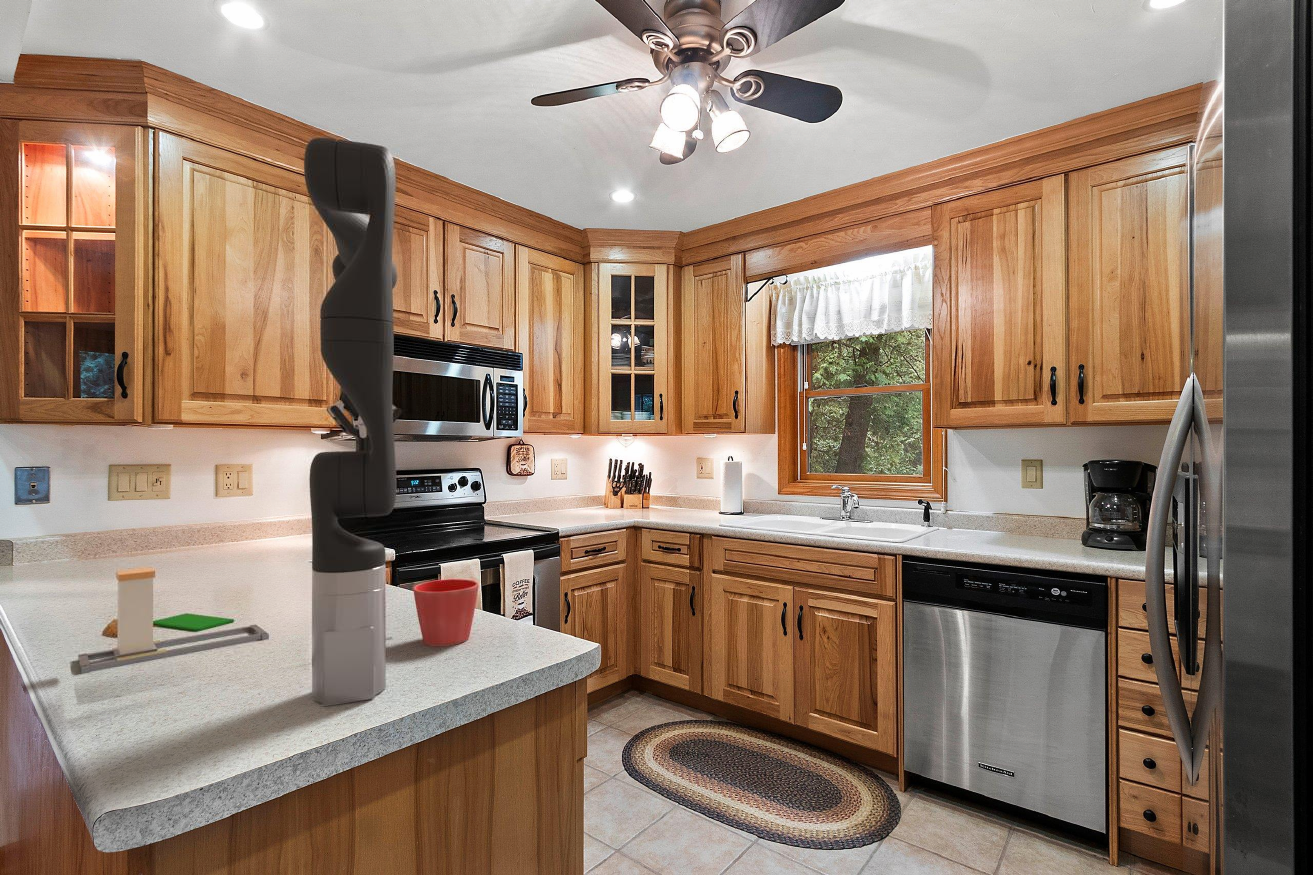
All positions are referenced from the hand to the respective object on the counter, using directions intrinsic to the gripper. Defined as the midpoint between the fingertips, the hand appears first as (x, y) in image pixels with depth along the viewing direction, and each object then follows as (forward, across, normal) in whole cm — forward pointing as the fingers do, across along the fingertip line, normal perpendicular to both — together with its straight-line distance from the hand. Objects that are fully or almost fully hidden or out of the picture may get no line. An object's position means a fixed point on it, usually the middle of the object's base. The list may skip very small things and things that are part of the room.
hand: (365, 459), depth 116 cm
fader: (+31, -31, +11) cm, 45 cm away
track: (+32, -26, +11) cm, 43 cm away
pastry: (+32, -30, +32) cm, 55 cm away
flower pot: (+32, +10, -12) cm, 36 cm away
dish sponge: (+33, -21, +29) cm, 49 cm away
